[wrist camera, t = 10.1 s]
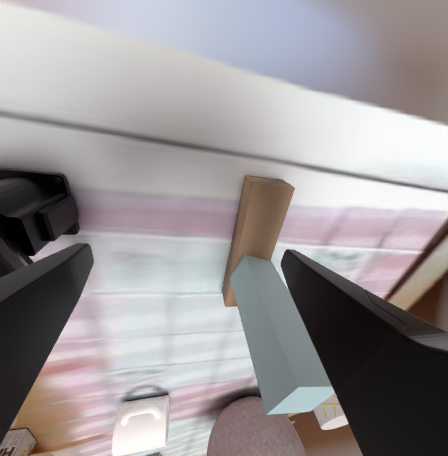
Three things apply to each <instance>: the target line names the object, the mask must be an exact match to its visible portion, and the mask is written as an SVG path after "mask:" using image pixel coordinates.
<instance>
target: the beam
mask: <svg viewBox="0 0 448 456" xmlns="http://www.w3.org/2000/svg"><path fill="white" fill-rule="evenodd" d="M294 189H295V188H294V187H293V186H291V185H290V184H288V183H287V182H285V181H284V180H280V179H271V178H263V177H254V176H246V175H245V180H244V185H243V190H242V195H241V200H240V205H239V210H238V215H237V219H236V224H235V229H234V234H233V239H232V244H231V249H230V254H229V259H228V263H227V268H226V273H225V278H224V283H223V288H222V293H223V298H224V303H225V307H232V306H237V302H236V298H235V294H234V291H233V287H232V283H231V279H230V278H231V276H232V274H233V272H234V271H235V269H236V267H237V265H238V264H239V262H240V260H241V258H242V257H243V255H244V254H245V255H249V256H253V257H257V258H260V259H264V260H268V261H270V260H271V257H272V254H273V251H274V248H275V245H276V242H277V239H278V236H279V233H280V230H281V227H282V224H283V222H284V219H285V216H286V213H287V210H288V207H289V204H290V201H291V198H292V195H293V192H294Z"/></svg>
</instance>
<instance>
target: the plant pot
mask: <svg viewBox="0 0 448 456" xmlns="http://www.w3.org/2000/svg"><path fill="white" fill-rule="evenodd" d="M207 456H306V453H305V450H304V448H303V445H302V442H301V440H300V438H299V436H298V434H297V432H296V430H295V428H294V427H293V425H292V423H291V422H290V420H289V419H288V417H287V416H286V415H285V413H284V414H270V415H266V412H265V408H264V404H263V400H262V398H261V397H255V396H250V397H244V398H240V399H238V400H236V401H234V402H232V403H231V404H229V405H228V406H227V407H226V408H225V409H224V410H223V411H222V412H221V414H220V415H219V417H218V418H217V420H216V421H215V423H214V426H213V428H212V431H211V434H210V438H209V443H208V449H207Z"/></svg>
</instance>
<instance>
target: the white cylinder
mask: <svg viewBox="0 0 448 456" xmlns="http://www.w3.org/2000/svg"><path fill="white" fill-rule="evenodd" d="M313 410H314V412H315V415H316V417H317V419H318V421H319V424H320V426H321V428H322V429H324V430H326V429H327V430H328V429H333V428H337V427H341V426H344V425H346V424H349V423H348V421H347V419H346V417H345V414H344V412H343V410H342V408H341V406H340V403H339V401H338V399H337V395H336V394H333V395H332V396H330V397H329V398H328V399H326V400H325V401H324V402H322V403H321V404H319V405H318V406H317V407H315V408H314V409H313Z"/></svg>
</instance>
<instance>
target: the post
mask: <svg viewBox="0 0 448 456" xmlns="http://www.w3.org/2000/svg"><path fill="white" fill-rule="evenodd" d="M230 279H231V283H232V287H233V291H234V294H235V298H236V302H237V306H238V310H239V313H240V317H241V321H242V325H243V328H244V332H245V336H246V340H247V344H248V347H249V351H250V355H251V359H252V363H253V366H254V370H255V374H256V378H257V382H258V385H259V389H260V393H261V397H262V400H263V404H264V408H265V412H266V415H270V414H284V413H297V412H309V411H311V410H313V409H314V408H315V407H317V406H318V405H319V404H321V403H322V402H324V401H325V400H326V399H328V398H329V397H330V396H332V395H333V394H335V392H334V390H333V387H332V385H331V383H330V381H329V379H328V376H327V374H326V372H325V370H324V367H323V365H322V363H321V361H320V359H319V356H318V354H317V352H316V350H315V347H314V345H313V343H312V341H311V339H310V336H309V334H308V332H307V330H306V328H305V325H304V323H303V321H302V319H301V316H300V314H299V312H298V310H297V308H296V305H295V303H294V301H293V299H292V296H291V294H290V293H289V291H288V289H287V287H286V286H285V284H284V282H283V281H282V279H281V277H280V275H279V274H278V272H277V270H276V269H275V267H274V265H273V263H272V262H271V261H268V260H264V259H260V258H257V257H253V256H249V255H245V254H244V255H243V257H242V258H241V260H240V262H239V264H238V265H237V267H236V269H235V271H234V272H233V274H232V276H231V278H230Z"/></svg>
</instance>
